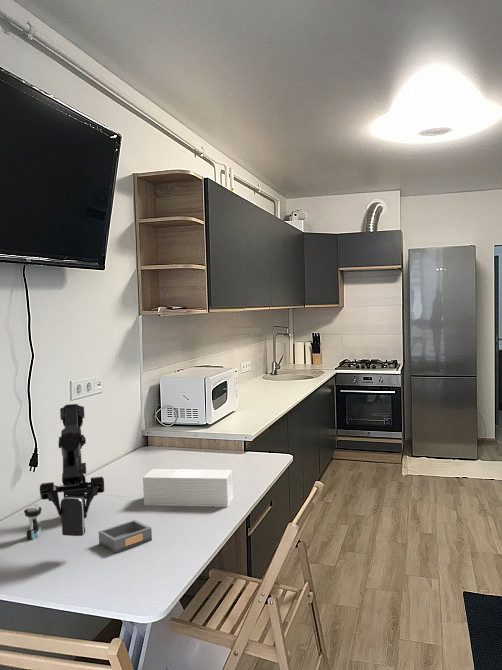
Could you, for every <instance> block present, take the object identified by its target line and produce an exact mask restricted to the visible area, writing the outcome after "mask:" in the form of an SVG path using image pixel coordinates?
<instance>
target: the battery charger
mask: <svg viewBox="0 0 502 670" xmlns="http://www.w3.org/2000/svg"><path fill="white" fill-rule="evenodd" d="M66 496H67V495H66ZM59 504H60V510H61V516H60V519H61V530H62V531H61V534H62V535H63V536H67V537H68V536H69V537H82V536H84V535H85V534H86V527H85V517H84V514H85V513H86V499H84V498H83V497H80V496H67V497H65V498H64V497H63V498H62V499H61V501H60V503H59Z"/></svg>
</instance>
